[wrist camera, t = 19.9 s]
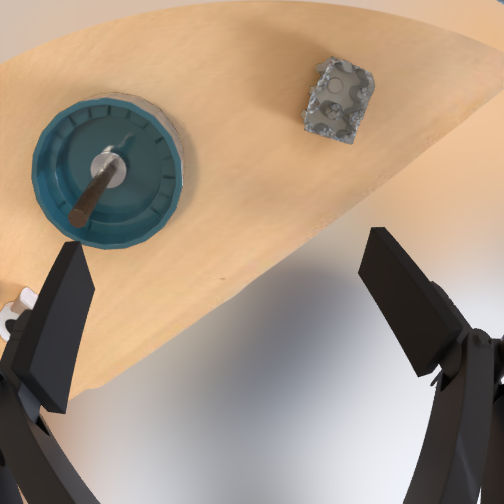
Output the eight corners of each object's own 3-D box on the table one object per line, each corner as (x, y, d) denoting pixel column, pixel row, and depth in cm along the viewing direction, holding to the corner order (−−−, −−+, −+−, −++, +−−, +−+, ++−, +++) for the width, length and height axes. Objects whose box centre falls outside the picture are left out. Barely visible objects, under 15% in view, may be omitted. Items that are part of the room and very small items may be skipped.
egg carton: (319, 51, 33) (332, 51, 30) (367, 73, 35) (383, 76, 32) (293, 124, 38) (302, 131, 35) (341, 140, 41) (354, 149, 37)
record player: (63, 329, 49) (27, 362, 54) (67, 317, 51) (31, 352, 56) (14, 293, 42) (-13, 334, 47) (20, 281, 45) (-8, 324, 50)
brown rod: (126, 146, 36) (96, 192, 25) (130, 182, 39) (105, 239, 28) (91, 151, 35) (48, 197, 24) (96, 185, 38) (61, 242, 27)
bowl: (182, 85, 33) (179, 89, 29) (187, 223, 45) (186, 245, 40) (39, 106, 30) (20, 115, 26) (64, 232, 42) (52, 253, 37)
